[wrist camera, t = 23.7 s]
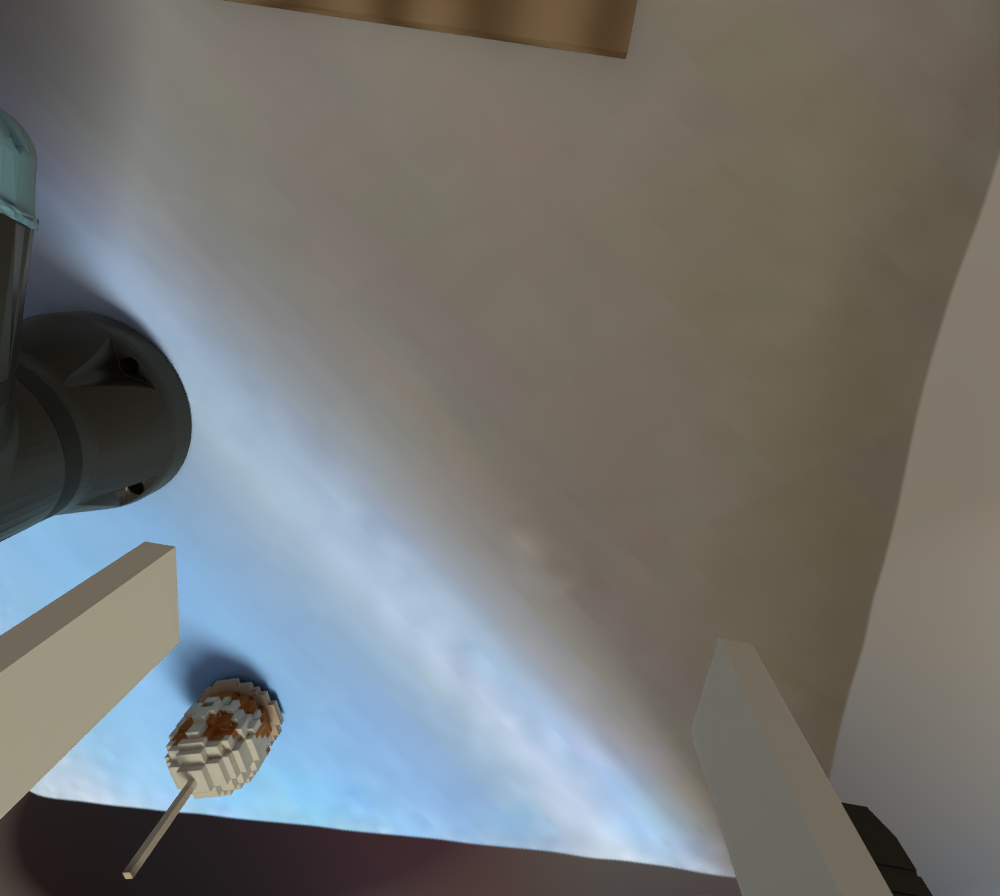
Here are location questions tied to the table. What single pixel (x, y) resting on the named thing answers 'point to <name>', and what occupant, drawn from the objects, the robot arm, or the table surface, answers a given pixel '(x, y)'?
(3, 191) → the robot arm
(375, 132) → the table surface
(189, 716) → the voxel lollipop
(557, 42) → the dial base
